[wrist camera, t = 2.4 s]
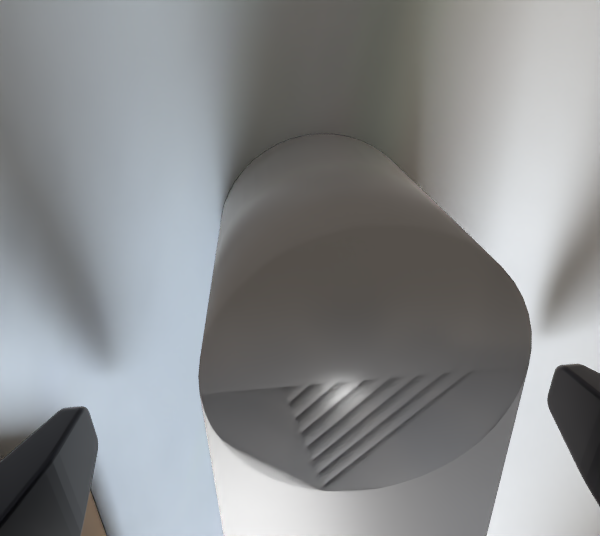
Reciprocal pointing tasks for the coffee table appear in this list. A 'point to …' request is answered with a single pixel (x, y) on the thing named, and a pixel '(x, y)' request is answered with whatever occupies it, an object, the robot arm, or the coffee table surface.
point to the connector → (355, 353)
